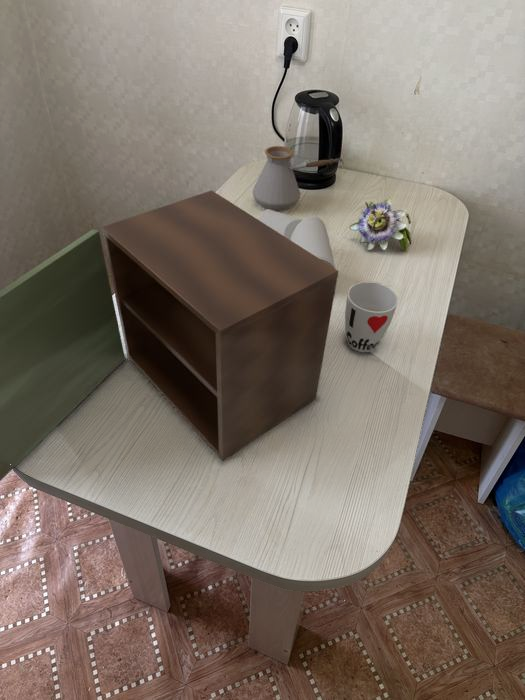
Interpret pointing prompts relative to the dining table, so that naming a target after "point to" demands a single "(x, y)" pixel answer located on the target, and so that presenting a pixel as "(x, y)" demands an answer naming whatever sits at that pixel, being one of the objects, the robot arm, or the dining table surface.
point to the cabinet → (221, 315)
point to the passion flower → (382, 225)
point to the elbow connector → (301, 233)
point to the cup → (368, 314)
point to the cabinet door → (54, 344)
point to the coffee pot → (281, 179)
